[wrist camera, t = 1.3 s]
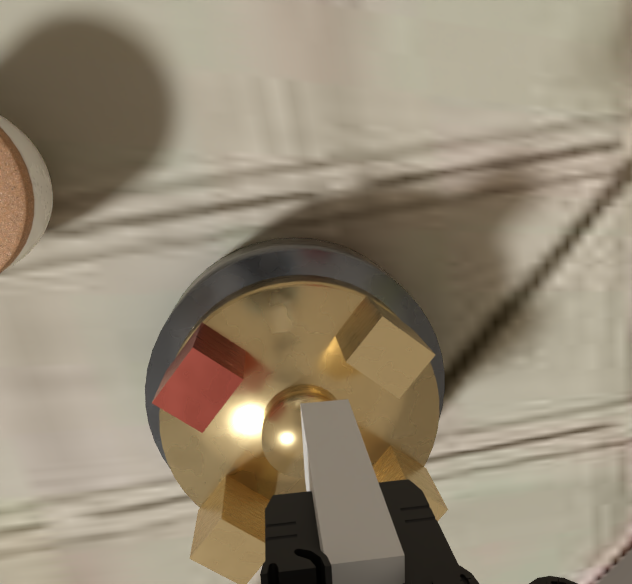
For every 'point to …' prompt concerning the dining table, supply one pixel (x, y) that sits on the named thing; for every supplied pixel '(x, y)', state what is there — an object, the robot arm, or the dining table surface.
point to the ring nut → (288, 404)
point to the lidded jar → (21, 195)
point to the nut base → (272, 263)
